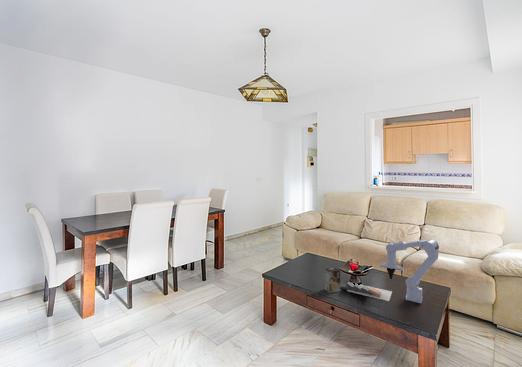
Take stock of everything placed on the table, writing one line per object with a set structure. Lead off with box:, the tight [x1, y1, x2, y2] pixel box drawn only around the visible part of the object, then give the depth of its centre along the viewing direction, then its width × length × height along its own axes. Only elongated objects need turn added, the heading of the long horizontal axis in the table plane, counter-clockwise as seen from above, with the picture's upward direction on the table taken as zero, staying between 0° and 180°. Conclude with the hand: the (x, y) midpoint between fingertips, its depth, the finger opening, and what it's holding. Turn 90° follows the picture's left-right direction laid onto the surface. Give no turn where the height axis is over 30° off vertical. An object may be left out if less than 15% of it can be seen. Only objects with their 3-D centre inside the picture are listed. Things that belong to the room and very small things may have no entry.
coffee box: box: [324, 266, 341, 294], centre depth 198 cm, size 9×6×16 cm
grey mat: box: [346, 284, 393, 302], centre depth 197 cm, size 28×16×1 cm, turn 57°
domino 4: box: [361, 284, 373, 295], centre depth 194 cm, size 2×5×8 cm
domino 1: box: [340, 283, 351, 291], centre depth 203 cm, size 2×5×8 cm
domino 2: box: [346, 281, 357, 292], centre depth 200 cm, size 2×5×8 cm
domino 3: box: [353, 282, 365, 293], centre depth 197 cm, size 2×5×8 cm
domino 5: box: [368, 286, 382, 297], centre depth 192 cm, size 2×5×8 cm
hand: (391, 278), depth 196 cm, fingers closed
